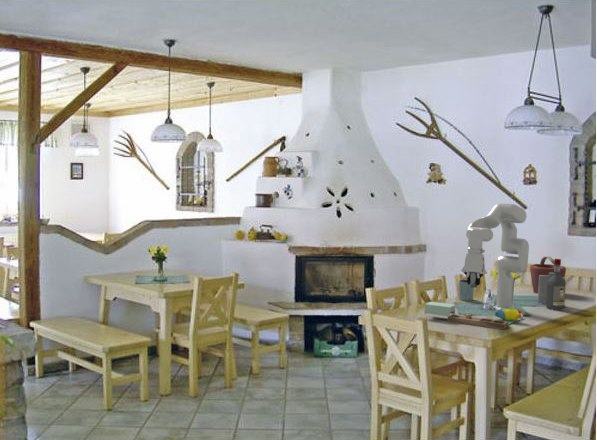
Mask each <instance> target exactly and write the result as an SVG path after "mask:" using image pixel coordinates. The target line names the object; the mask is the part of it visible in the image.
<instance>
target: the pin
mask: <svg viewBox="0 0 597 440" xmlns="http://www.w3.org/2000/svg"><path fill="white" fill-rule="evenodd" d="M476 278H477V273H476V272H470V286H469V287H473V288H474V289H475V288H476V289H477V288H478V286H476Z"/></svg>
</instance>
